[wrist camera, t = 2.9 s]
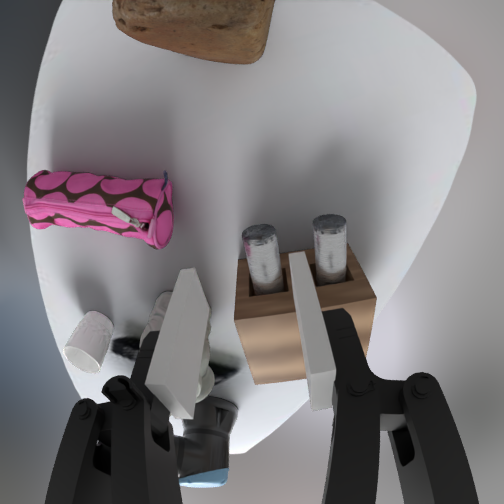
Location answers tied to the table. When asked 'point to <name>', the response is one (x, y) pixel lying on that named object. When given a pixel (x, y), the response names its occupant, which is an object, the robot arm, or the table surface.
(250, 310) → the walnut block
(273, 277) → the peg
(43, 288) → the table surface
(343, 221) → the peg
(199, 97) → the table surface
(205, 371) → the teapot
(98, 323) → the white cup
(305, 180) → the table surface
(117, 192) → the pencil case
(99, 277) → the table surface
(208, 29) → the block
